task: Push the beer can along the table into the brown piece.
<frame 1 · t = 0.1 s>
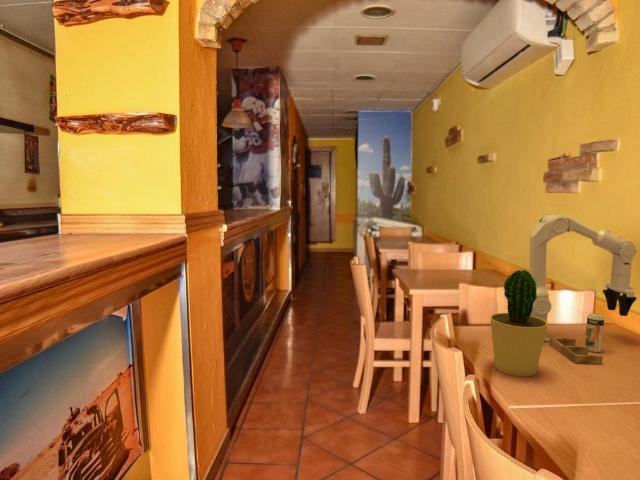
hand: (617, 312, 162), 10 cm above the table, fingers open, 7 cm apart
potted cactus: (515, 369, 136), on the table
beer can: (592, 351, 153), on the table
brown piece: (574, 354, 149), on the table
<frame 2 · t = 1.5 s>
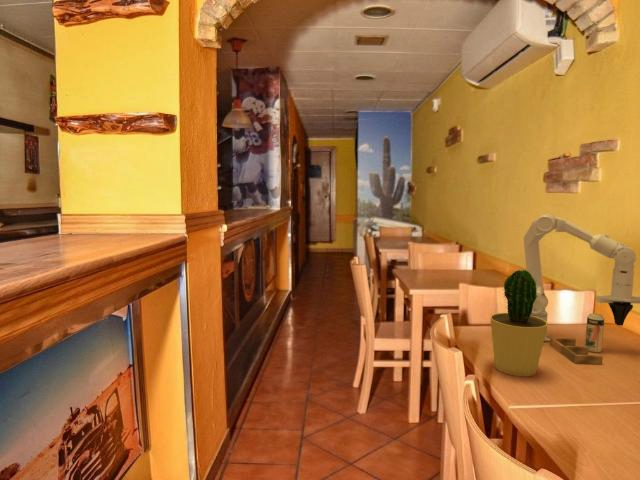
hand: (618, 324, 151), 9 cm above the table, fingers closed
nothing on the table moved.
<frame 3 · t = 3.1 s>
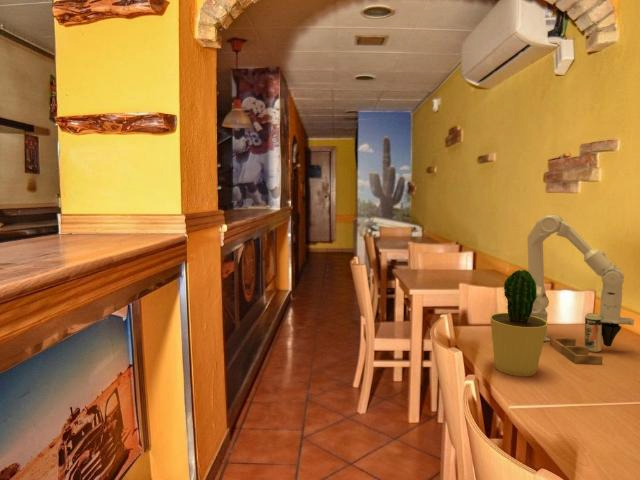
hand: (607, 345, 152), 2 cm above the table, fingers closed
beer can: (593, 350, 153), on the table, touching gripper
everything else where it was.
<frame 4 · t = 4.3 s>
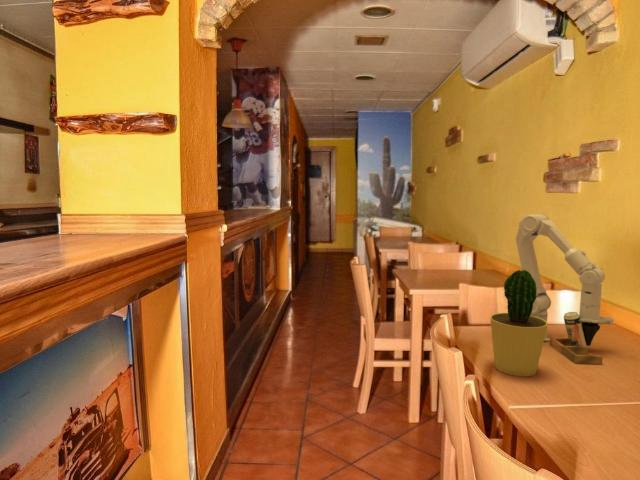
hand: (586, 344, 152), 2 cm above the table, fingers closed
beer can: (579, 349, 153), on the table, touching gripper
everything else where it was.
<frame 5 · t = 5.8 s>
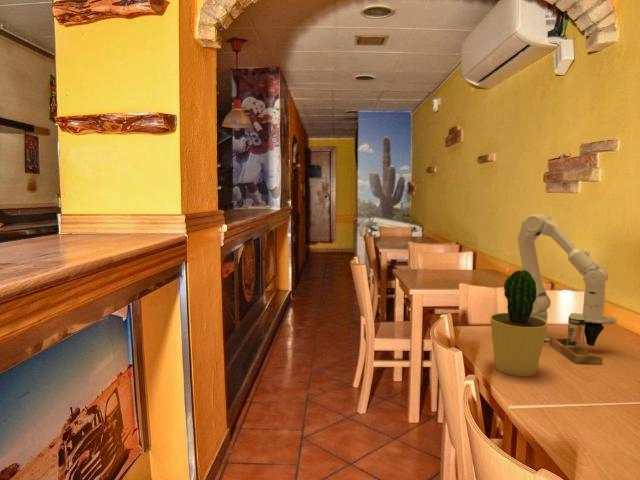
hand: (590, 344, 152), 2 cm above the table, fingers closed
beer can: (574, 350, 153), on the table, touching gripper
everything else where it was.
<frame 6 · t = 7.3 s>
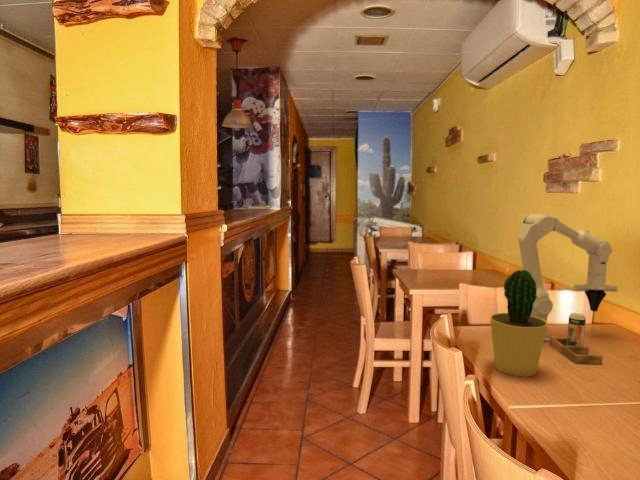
hand: (593, 310, 167), 9 cm above the table, fingers closed
beer can: (574, 350, 153), on the table
everything else where it was.
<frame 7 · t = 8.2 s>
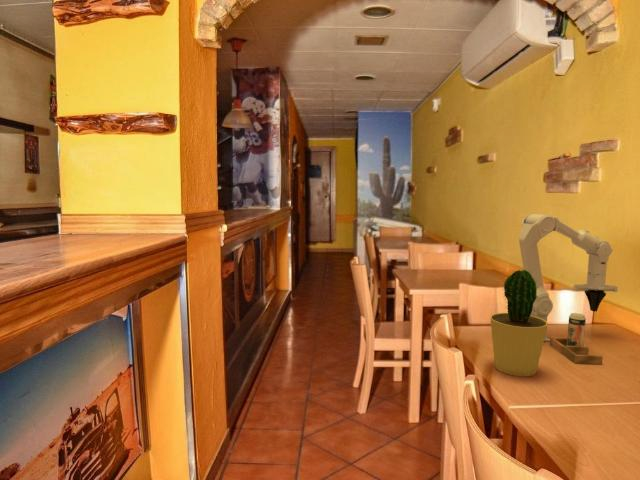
hand: (593, 310, 167), 9 cm above the table, fingers closed
nothing on the table moved.
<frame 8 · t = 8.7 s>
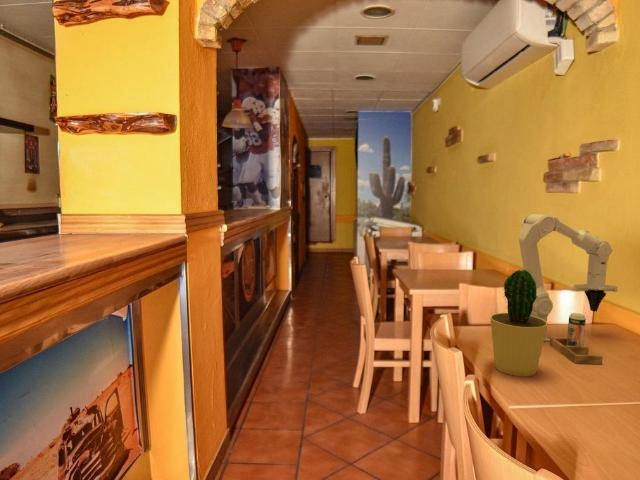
hand: (593, 310, 167), 9 cm above the table, fingers closed
nothing on the table moved.
at the end: beer can 2.3 cm from the target spot on the brown piece, point 0.0 cm above the brown piece's base; beer can tilted 0°; beer can moved 6.0 cm from its start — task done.
